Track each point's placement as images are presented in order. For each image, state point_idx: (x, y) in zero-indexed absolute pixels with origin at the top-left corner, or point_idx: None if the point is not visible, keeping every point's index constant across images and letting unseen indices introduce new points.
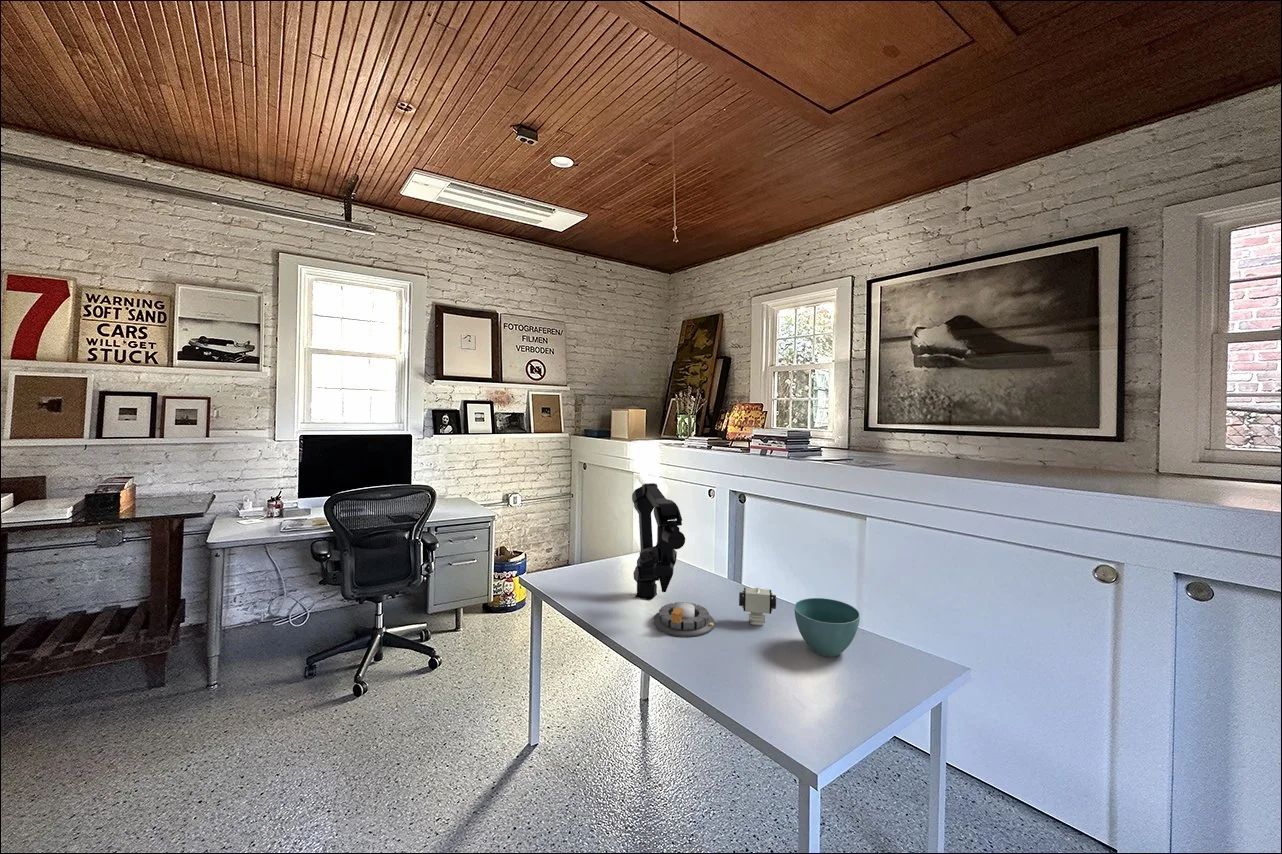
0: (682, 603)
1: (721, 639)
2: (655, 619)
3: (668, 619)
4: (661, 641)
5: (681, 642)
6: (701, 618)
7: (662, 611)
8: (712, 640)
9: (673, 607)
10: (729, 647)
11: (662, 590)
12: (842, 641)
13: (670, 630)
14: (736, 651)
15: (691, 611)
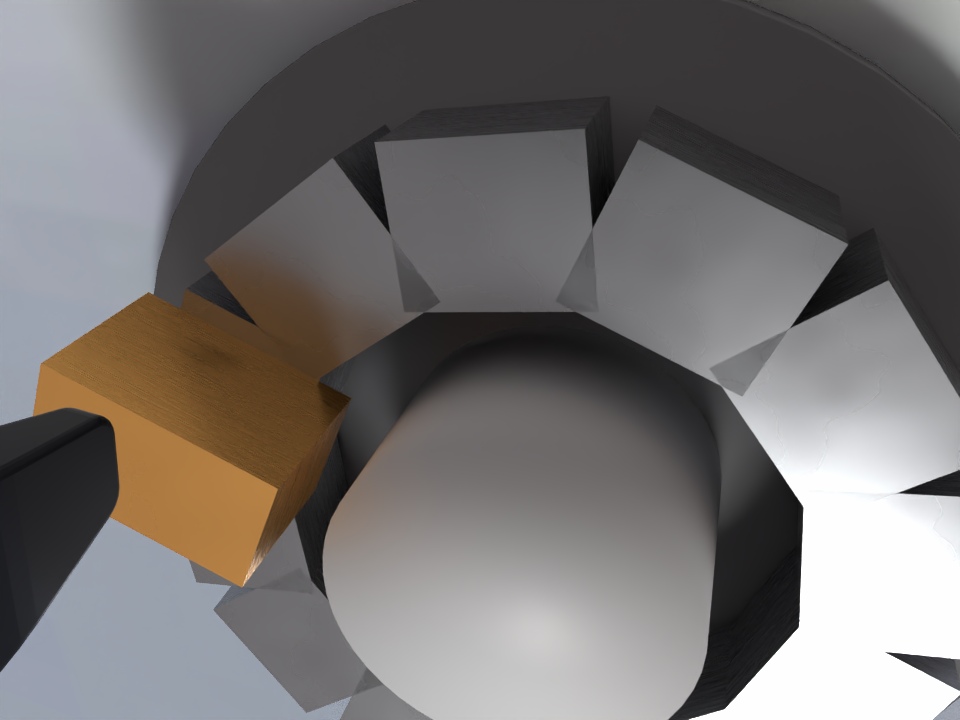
0: (658, 630)
1: (204, 681)
2: (593, 24)
3: (229, 263)
4: (16, 70)
5: (57, 313)
6: (329, 690)
7: (556, 201)
8: (170, 608)
9: (474, 442)
10: (79, 685)
11: (10, 437)
12: None
13: (218, 234)
14: (31, 704)
15: (380, 656)
